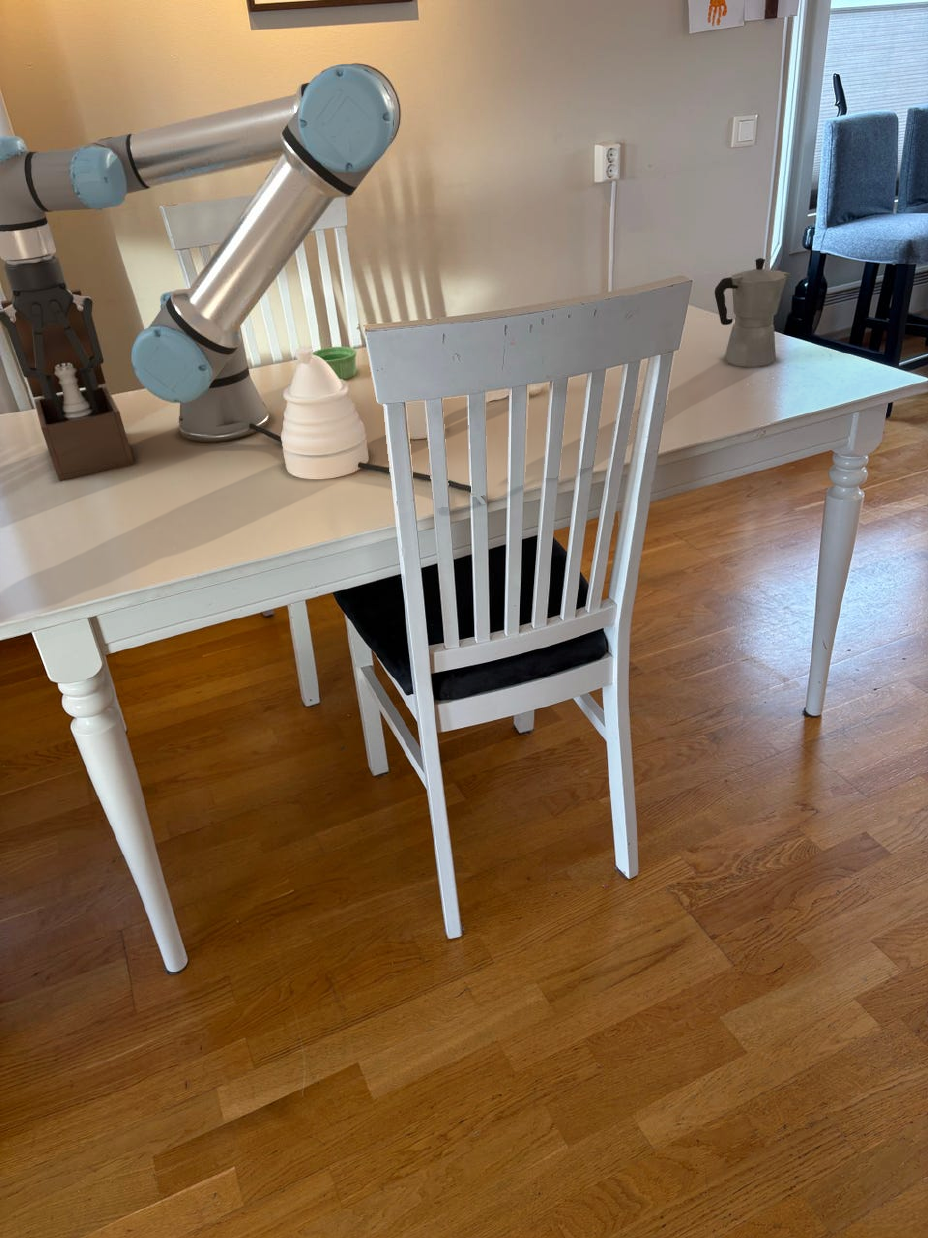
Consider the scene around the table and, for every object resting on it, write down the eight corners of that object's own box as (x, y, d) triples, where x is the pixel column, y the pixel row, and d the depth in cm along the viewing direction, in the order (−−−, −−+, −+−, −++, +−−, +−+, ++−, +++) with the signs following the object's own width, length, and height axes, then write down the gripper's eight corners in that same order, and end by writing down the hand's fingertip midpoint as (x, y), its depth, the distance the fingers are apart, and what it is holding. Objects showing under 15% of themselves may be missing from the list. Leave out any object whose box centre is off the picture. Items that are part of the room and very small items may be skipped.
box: (134, 463, 145) (119, 411, 140) (58, 480, 141) (40, 427, 136) (120, 434, 157) (106, 384, 152) (50, 449, 153) (33, 399, 148)
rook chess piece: (99, 412, 143) (84, 362, 138) (76, 422, 140) (60, 371, 135) (81, 408, 145) (66, 359, 141) (57, 418, 142) (42, 367, 138)
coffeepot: (763, 347, 173) (775, 248, 164) (795, 360, 166) (809, 257, 156) (694, 361, 169) (702, 260, 160) (724, 374, 162) (733, 269, 152)
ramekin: (356, 381, 173) (353, 358, 170) (309, 384, 173) (306, 361, 171) (361, 366, 180) (358, 345, 178) (316, 369, 181) (313, 347, 178)
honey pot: (349, 481, 133) (331, 361, 123) (271, 476, 137) (248, 358, 127) (380, 448, 143) (366, 334, 134) (307, 444, 147) (289, 332, 137)
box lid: (80, 290, 140) (73, 274, 143) (0, 303, 136) (-4, 286, 140) (105, 383, 152) (99, 366, 155) (33, 397, 148) (27, 379, 151)
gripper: (89, 245, 135) (131, 396, 148) (-36, 263, 130) (18, 418, 142) (95, 253, 130) (138, 409, 142) (-36, 272, 124) (21, 433, 136)
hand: (78, 413), depth 142 cm, fingers closed on rook chess piece, 4 cm apart
